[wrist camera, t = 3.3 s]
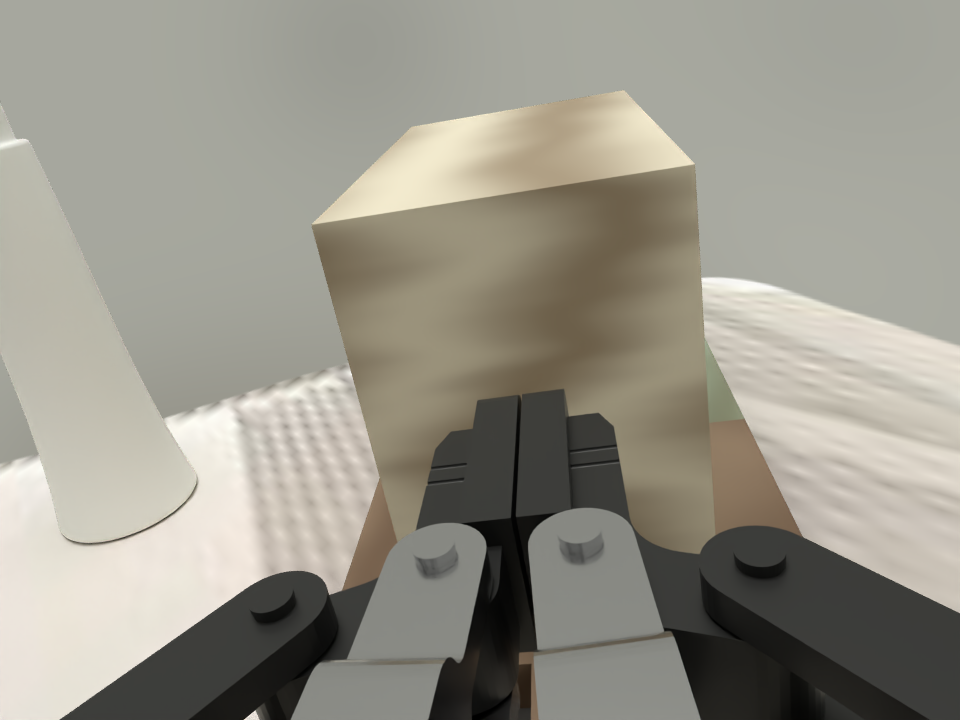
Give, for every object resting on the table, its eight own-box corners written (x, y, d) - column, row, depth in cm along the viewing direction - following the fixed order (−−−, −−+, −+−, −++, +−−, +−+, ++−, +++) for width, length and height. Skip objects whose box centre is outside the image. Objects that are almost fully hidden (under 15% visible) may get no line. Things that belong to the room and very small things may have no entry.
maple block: (424, 643, 21) (311, 224, 16) (467, 402, 34) (411, 126, 29) (720, 620, 20) (695, 164, 15) (649, 380, 33) (623, 90, 28)
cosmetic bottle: (217, 493, 34) (11, -50, 25) (80, 564, 31) (-214, -30, 22) (172, 452, 39) (-17, -22, 30) (47, 511, 35) (-208, -2, 26)
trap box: (243, 1035, 15) (211, 980, 14) (433, 371, 42) (426, 339, 41) (1001, 1033, 13) (1014, 967, 12) (690, 339, 40) (688, 304, 39)
